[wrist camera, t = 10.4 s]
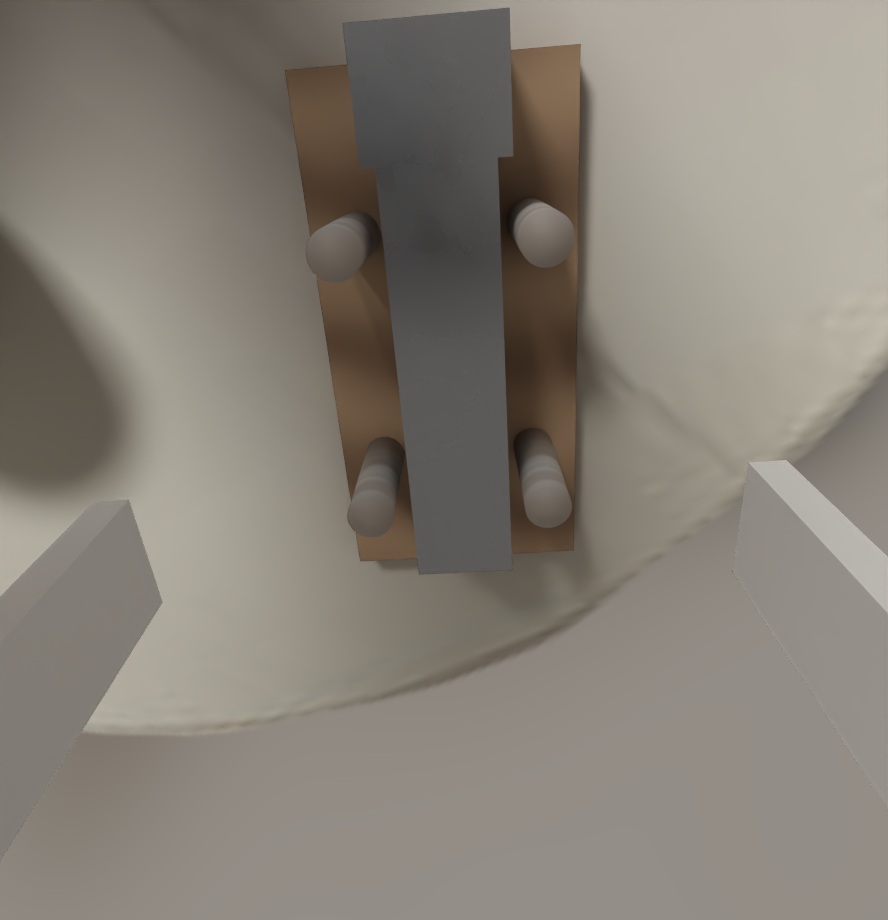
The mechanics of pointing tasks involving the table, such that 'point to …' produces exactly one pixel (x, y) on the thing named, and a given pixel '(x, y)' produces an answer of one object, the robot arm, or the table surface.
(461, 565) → the grey notched bar
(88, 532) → the robot arm
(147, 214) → the table surface
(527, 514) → the rack
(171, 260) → the table surface
